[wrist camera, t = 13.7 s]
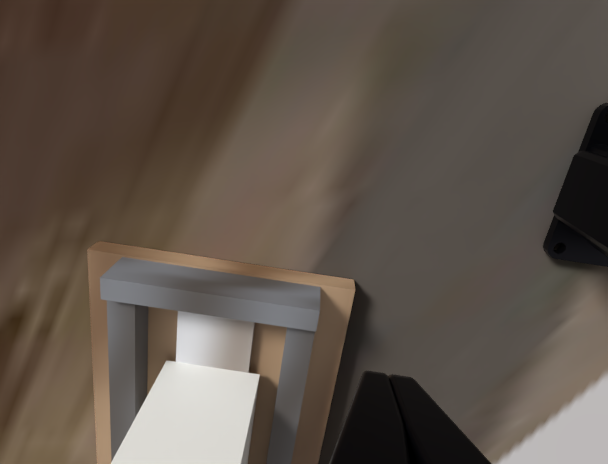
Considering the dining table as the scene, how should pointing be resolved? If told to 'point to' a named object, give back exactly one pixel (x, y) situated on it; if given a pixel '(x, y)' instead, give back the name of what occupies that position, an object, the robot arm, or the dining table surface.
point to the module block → (193, 418)
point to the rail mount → (216, 340)
